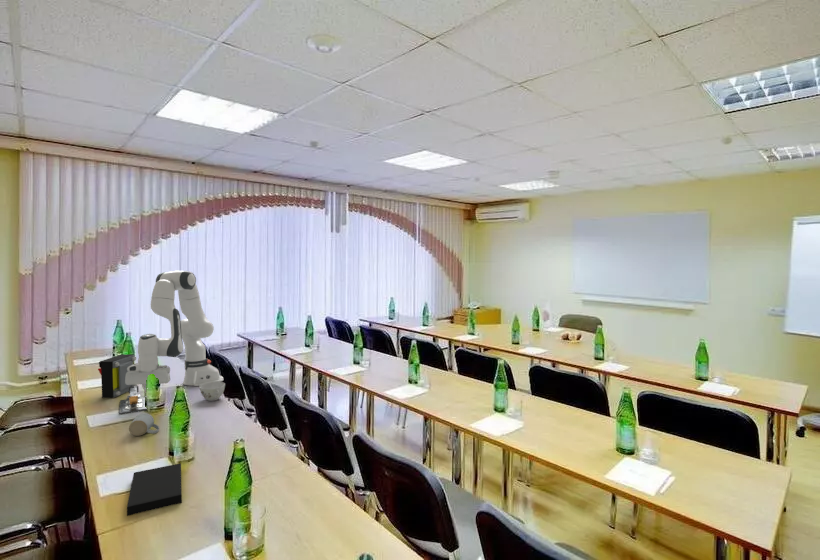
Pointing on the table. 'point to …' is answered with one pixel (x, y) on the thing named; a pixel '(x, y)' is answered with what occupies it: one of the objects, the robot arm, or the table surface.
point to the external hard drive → (155, 489)
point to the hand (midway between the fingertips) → (148, 392)
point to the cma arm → (133, 394)
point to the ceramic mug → (143, 425)
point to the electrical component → (115, 375)
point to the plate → (132, 406)
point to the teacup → (212, 390)
